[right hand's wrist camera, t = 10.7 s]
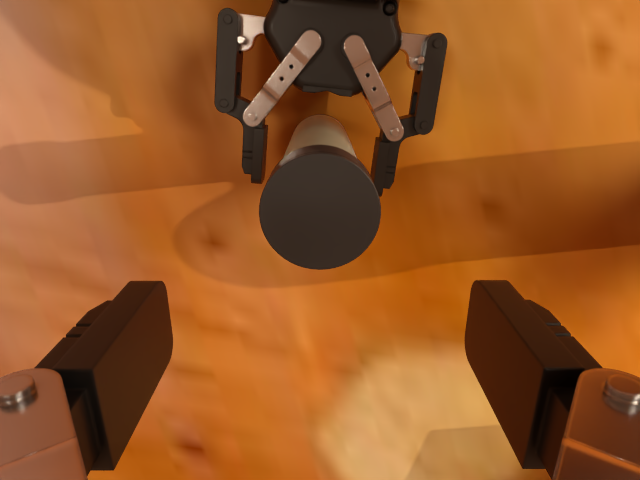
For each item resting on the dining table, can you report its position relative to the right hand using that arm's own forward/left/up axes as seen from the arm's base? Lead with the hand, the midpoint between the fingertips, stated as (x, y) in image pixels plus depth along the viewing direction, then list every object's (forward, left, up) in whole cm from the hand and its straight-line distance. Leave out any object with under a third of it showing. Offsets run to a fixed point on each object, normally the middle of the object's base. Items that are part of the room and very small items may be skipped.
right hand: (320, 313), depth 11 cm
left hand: (-1, +2, -21) cm, 21 cm away
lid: (0, 0, -9) cm, 9 cm away
